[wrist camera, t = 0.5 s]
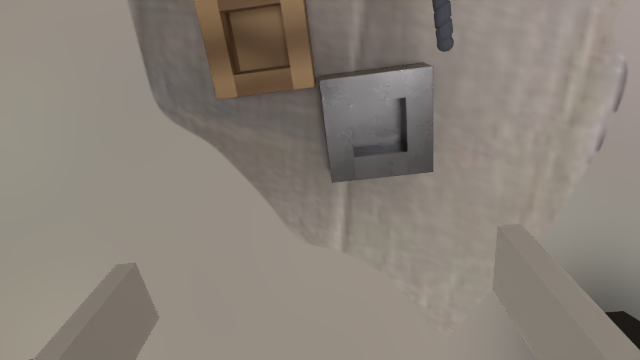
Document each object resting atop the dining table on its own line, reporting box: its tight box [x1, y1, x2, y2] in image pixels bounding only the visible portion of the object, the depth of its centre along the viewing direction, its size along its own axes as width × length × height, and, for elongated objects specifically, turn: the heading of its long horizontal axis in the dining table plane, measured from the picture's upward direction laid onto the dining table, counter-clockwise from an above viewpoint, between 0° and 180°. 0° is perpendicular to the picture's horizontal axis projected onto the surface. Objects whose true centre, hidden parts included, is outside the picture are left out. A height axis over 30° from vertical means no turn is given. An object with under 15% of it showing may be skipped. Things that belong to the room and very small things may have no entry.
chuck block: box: [319, 63, 433, 183], centre depth 35 cm, size 10×10×4 cm
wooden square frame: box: [194, 0, 316, 99], centre depth 32 cm, size 9×9×4 cm
